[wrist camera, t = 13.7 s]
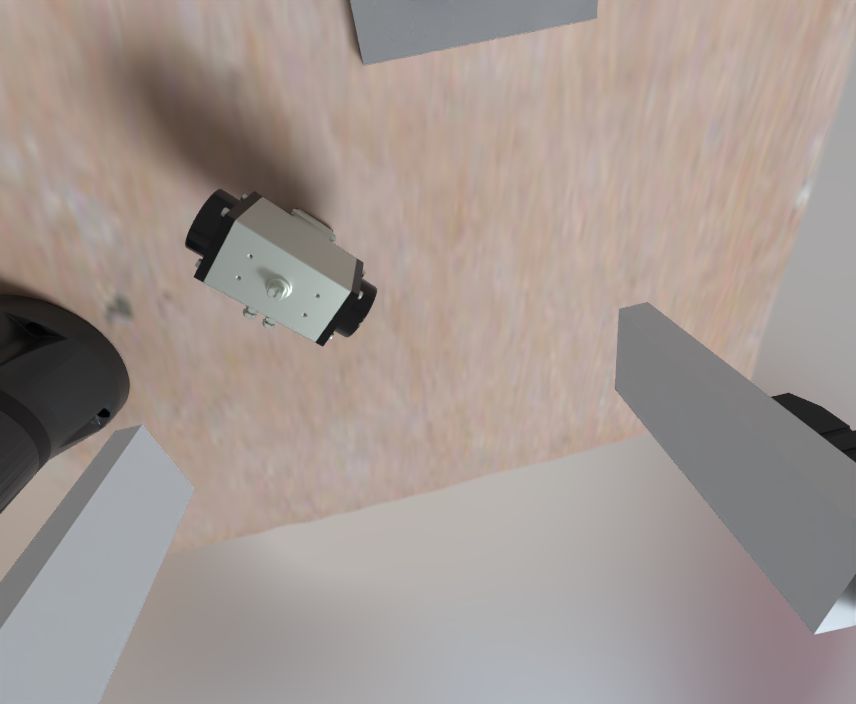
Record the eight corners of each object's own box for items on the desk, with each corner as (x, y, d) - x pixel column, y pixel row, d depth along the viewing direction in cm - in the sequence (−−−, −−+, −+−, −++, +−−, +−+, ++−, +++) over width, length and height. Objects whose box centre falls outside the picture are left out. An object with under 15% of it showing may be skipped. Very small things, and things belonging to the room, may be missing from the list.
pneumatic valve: (253, 166, 32) (191, 202, 22) (380, 252, 36) (377, 315, 26) (223, 225, 34) (154, 282, 24) (346, 299, 38) (333, 374, 28)
